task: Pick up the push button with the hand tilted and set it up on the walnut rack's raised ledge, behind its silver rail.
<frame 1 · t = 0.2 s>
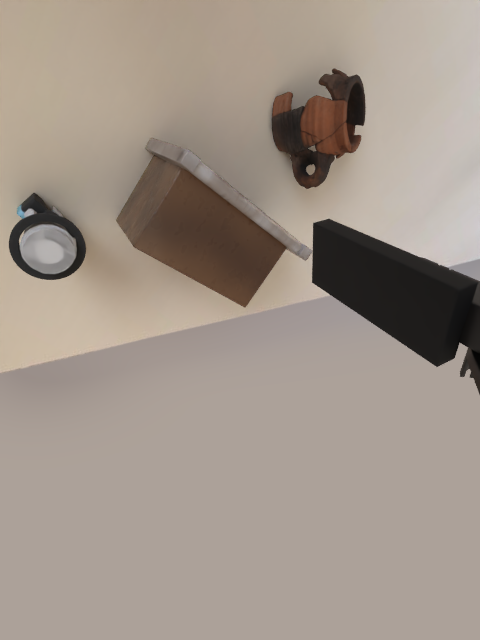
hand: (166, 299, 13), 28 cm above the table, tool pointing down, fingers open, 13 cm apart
push button: (51, 223, 36), on the table
pottery mug: (302, 129, 43), on the table
rack: (190, 218, 42), on the table
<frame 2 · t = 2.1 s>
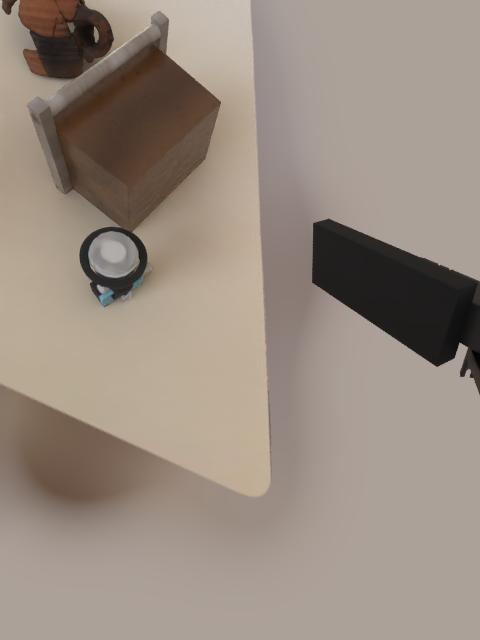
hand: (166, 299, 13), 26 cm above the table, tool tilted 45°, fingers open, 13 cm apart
push button: (124, 286, 39), on the table
pottery mug: (65, 51, 43), on the table
rack: (139, 169, 42), on the table
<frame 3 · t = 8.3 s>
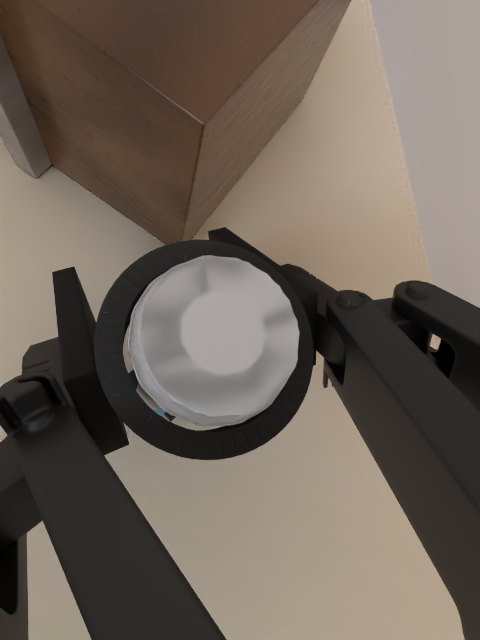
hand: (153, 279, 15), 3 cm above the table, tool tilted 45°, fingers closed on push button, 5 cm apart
push button: (180, 372, 17), on the table, touching gripper
rack: (184, 121, 21), on the table
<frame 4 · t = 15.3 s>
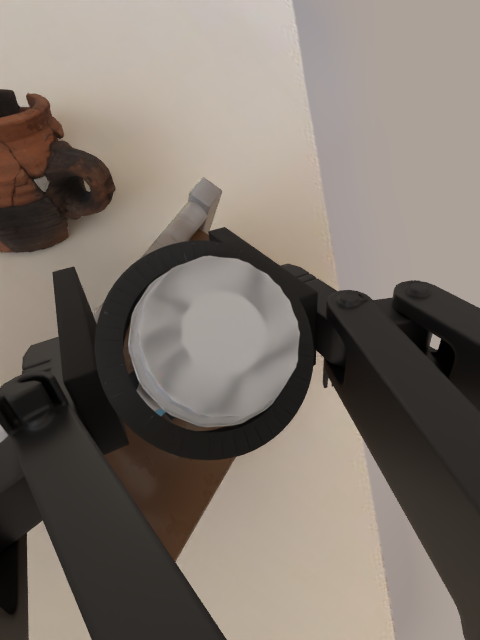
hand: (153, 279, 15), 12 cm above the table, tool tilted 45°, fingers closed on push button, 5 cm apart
push button: (180, 372, 17), point 9 cm above the table, touching gripper
pottery mug: (39, 199, 27), on the table
rack: (169, 385, 26), on the table
when the fingers open (13 cm above the table, at t = 20.3 s): push button drops 1 cm, resting on rack.
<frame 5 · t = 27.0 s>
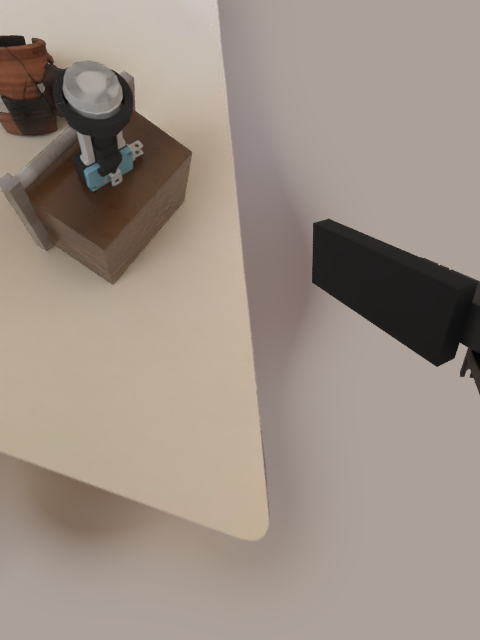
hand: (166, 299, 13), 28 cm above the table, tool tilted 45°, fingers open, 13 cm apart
push button: (113, 171, 34), point 9 cm above the table, touching rack
pottery mug: (39, 107, 44), on the table
rack: (118, 218, 43), on the table
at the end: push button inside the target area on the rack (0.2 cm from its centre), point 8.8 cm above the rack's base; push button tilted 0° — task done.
